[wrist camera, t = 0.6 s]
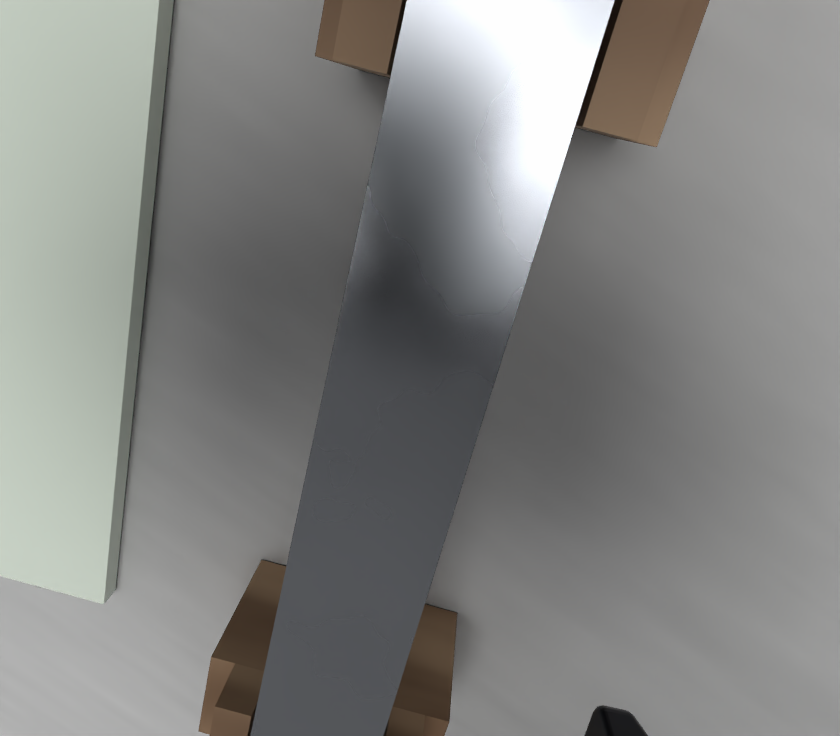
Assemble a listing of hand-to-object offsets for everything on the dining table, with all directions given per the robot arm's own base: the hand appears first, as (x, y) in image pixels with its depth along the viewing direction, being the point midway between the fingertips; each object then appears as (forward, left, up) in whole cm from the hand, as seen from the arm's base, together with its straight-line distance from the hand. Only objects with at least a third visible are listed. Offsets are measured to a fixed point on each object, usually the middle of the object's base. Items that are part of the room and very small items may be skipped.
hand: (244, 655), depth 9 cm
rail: (-1, -1, -8) cm, 8 cm away
